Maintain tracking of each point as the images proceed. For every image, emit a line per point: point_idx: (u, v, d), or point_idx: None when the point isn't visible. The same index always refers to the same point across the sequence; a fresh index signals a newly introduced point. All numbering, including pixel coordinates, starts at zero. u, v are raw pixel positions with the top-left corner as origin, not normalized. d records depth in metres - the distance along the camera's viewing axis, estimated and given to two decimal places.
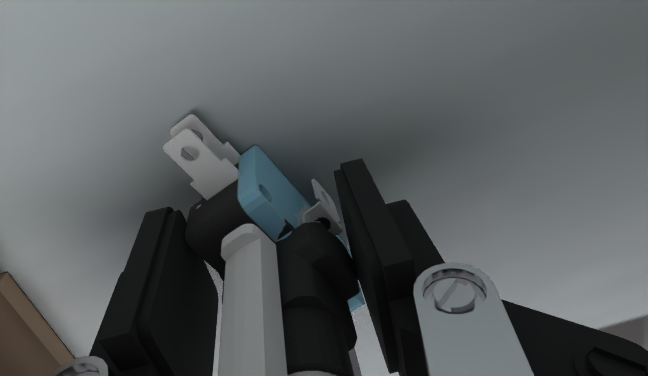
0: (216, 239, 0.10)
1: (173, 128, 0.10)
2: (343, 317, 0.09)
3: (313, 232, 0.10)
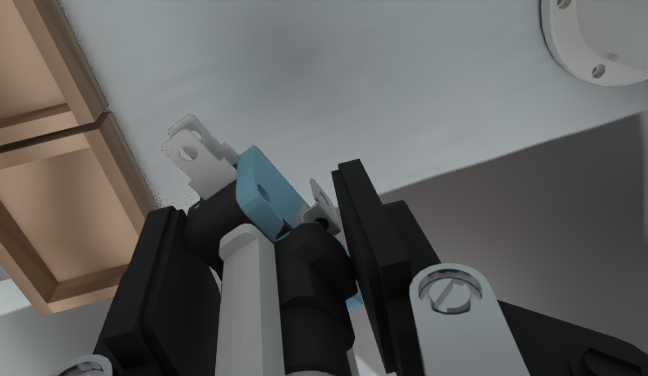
0: (214, 239, 0.10)
1: (172, 128, 0.10)
2: (341, 317, 0.09)
3: (311, 232, 0.10)
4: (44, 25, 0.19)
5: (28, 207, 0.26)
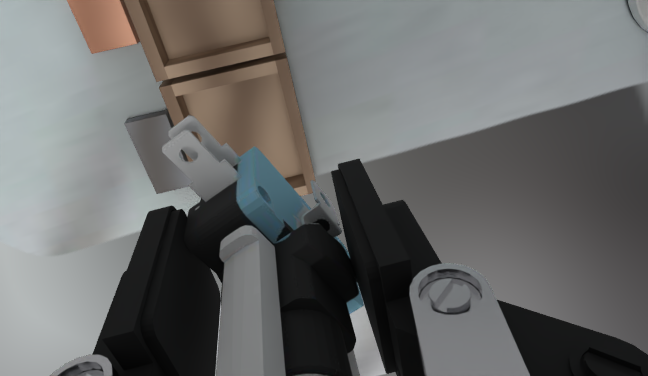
0: (215, 241, 0.10)
1: (172, 129, 0.10)
2: (342, 320, 0.09)
3: (312, 234, 0.10)
4: None
5: (210, 126, 0.32)
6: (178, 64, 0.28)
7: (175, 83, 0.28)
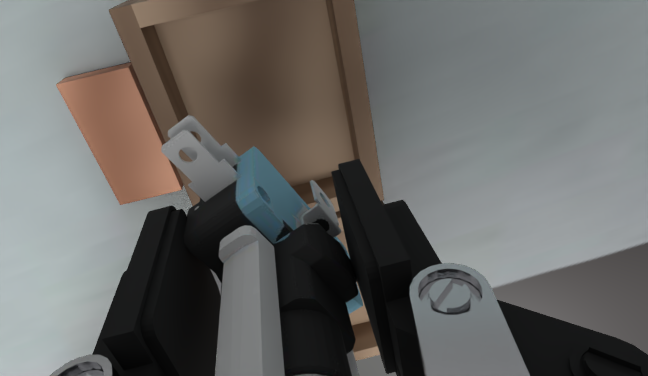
0: (214, 241, 0.10)
1: (171, 129, 0.10)
2: (341, 320, 0.09)
3: (311, 234, 0.10)
4: (367, 107, 0.18)
5: None
6: None
7: None
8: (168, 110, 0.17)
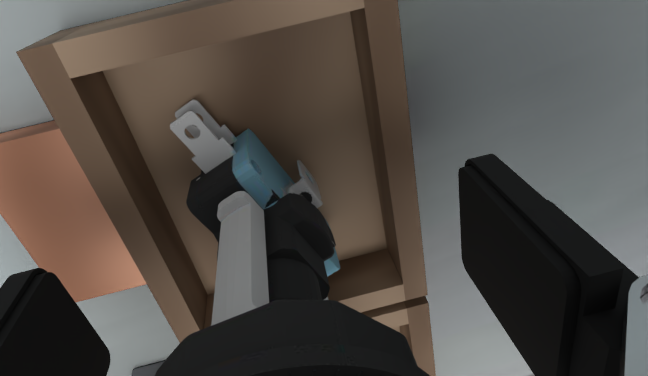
0: (213, 205, 0.11)
1: (178, 110, 0.12)
2: (318, 270, 0.11)
3: (295, 201, 0.11)
4: (412, 180, 0.13)
5: None
6: None
7: None
8: (121, 193, 0.12)
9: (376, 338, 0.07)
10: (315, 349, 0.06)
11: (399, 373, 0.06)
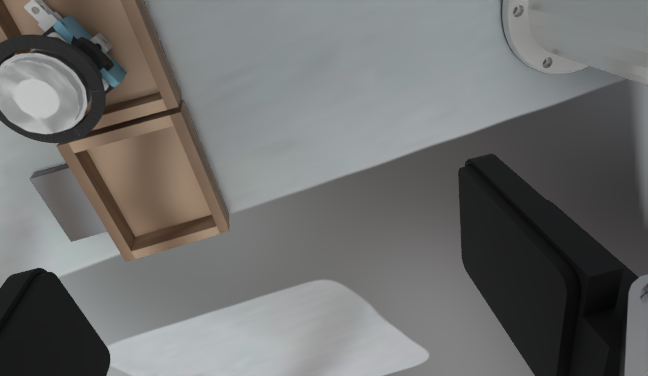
0: None
1: None
2: None
3: (82, 38, 0.26)
4: (148, 37, 0.27)
5: (118, 175, 0.33)
6: None
7: (73, 141, 0.30)
8: (4, 38, 0.26)
9: None
10: (35, 35, 0.20)
11: (63, 44, 0.20)
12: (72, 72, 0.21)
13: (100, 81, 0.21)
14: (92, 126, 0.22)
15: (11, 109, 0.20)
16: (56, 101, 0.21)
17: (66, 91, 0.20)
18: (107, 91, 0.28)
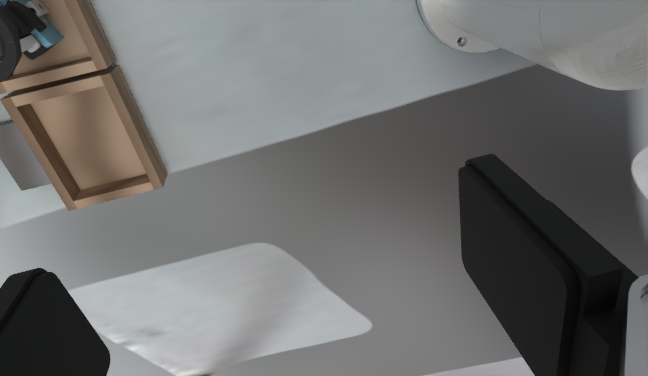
0: None
1: None
2: (15, 22, 0.29)
3: (14, 1, 0.29)
4: (76, 3, 0.31)
5: (61, 131, 0.37)
6: (14, 80, 0.33)
7: (14, 95, 0.33)
8: None
9: None
10: None
11: None
12: None
13: (11, 33, 0.25)
14: (7, 73, 0.26)
15: None
16: None
17: None
18: (41, 50, 0.32)
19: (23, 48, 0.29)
